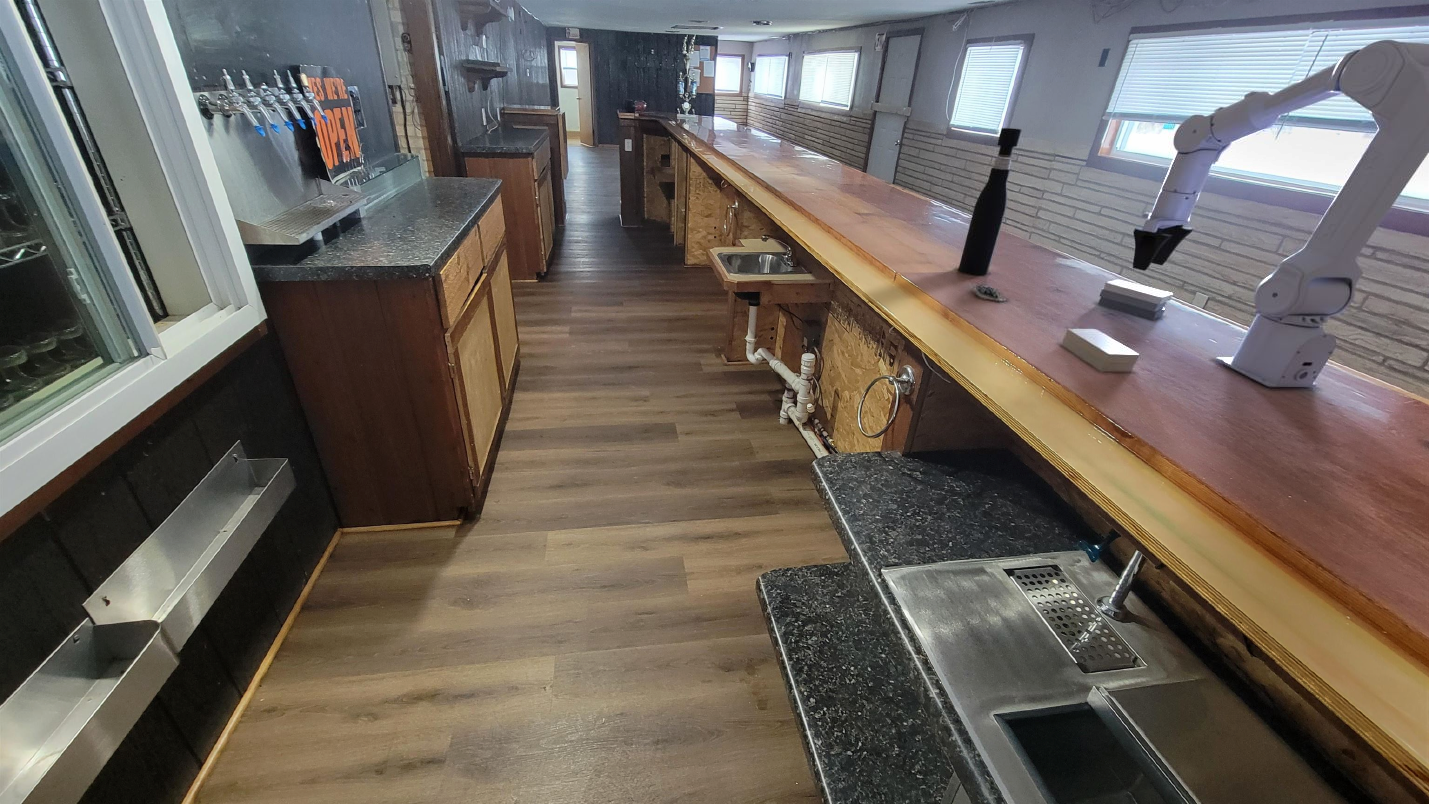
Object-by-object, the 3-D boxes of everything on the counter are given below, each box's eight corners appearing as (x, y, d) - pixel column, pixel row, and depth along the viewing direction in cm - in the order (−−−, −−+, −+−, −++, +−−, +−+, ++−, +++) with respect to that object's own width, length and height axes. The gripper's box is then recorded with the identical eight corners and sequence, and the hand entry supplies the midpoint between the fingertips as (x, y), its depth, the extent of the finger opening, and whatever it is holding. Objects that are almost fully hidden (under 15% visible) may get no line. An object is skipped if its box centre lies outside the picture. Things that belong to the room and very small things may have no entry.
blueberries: (987, 287, 120) (990, 279, 120) (1016, 300, 114) (1019, 291, 113) (962, 290, 118) (964, 281, 117) (990, 303, 112) (993, 293, 111)
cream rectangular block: (1132, 372, 86) (1140, 354, 85) (1101, 372, 86) (1108, 354, 84) (1088, 344, 95) (1095, 328, 94) (1060, 344, 95) (1066, 328, 93)
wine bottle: (952, 268, 133) (988, 127, 118) (972, 266, 135) (1009, 127, 120) (973, 276, 128) (1013, 130, 113) (993, 273, 130) (1035, 130, 115)
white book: (1170, 300, 108) (1173, 293, 107) (1159, 304, 105) (1162, 297, 104) (1114, 285, 115) (1117, 278, 114) (1102, 289, 112) (1105, 282, 111)
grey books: (1162, 316, 109) (1169, 300, 108) (1152, 320, 107) (1159, 304, 105) (1105, 300, 116) (1112, 285, 115) (1096, 303, 114) (1102, 288, 113)
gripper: (1171, 185, 107) (1141, 256, 114) (1137, 190, 100) (1108, 266, 106) (1215, 191, 102) (1181, 265, 109) (1183, 197, 95) (1149, 276, 101)
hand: (1147, 266), depth 107 cm, fingers open, 7 cm apart
